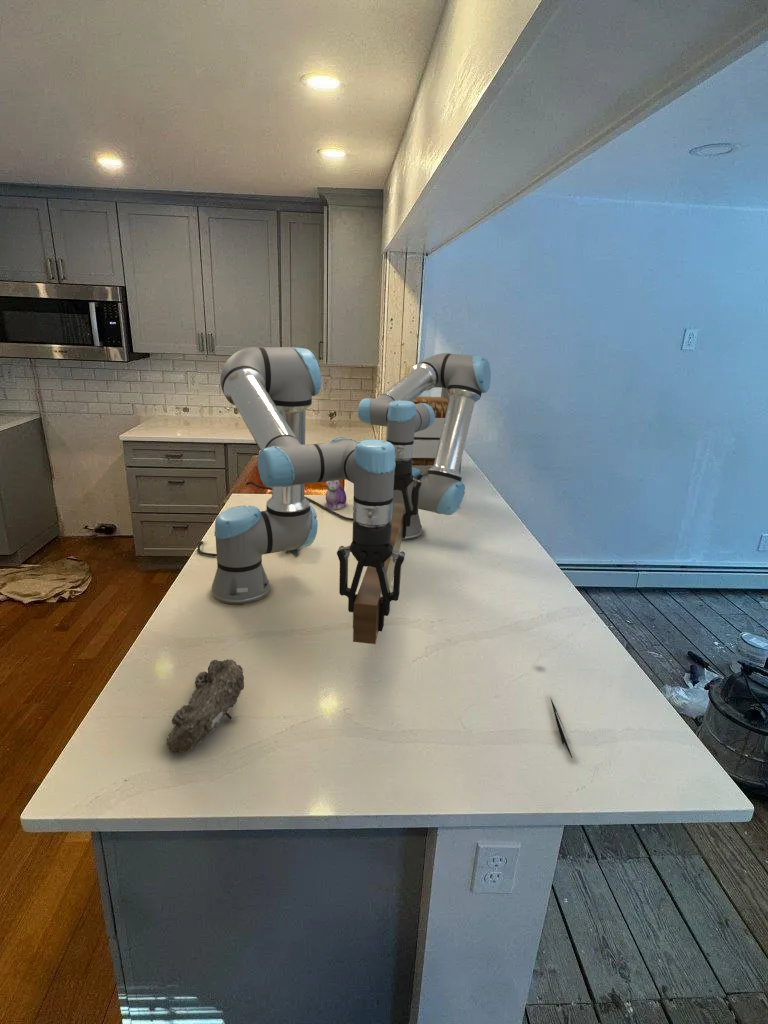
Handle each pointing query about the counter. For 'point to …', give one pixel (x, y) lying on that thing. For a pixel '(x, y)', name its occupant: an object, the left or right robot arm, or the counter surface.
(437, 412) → the transformer
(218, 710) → the fossil
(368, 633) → the post
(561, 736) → the feather
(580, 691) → the counter surface
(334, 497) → the figurine
